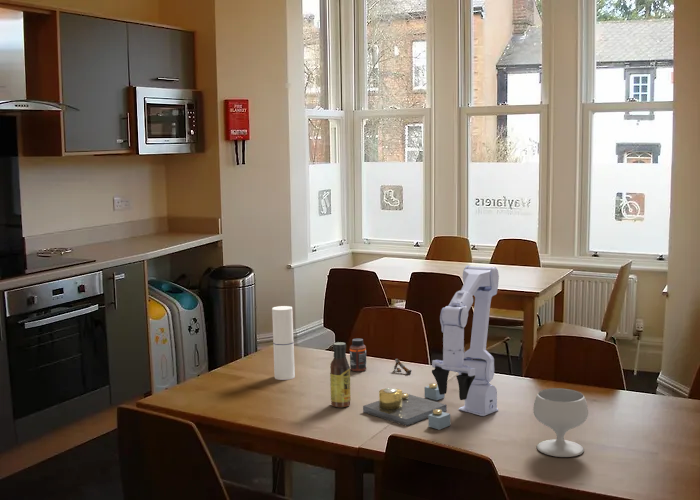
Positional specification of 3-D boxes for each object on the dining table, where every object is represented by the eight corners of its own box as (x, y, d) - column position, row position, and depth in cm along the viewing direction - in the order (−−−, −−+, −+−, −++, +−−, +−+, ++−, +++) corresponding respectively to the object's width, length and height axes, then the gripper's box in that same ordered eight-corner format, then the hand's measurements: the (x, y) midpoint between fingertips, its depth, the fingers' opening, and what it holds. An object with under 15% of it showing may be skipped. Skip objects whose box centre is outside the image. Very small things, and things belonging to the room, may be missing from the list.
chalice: (578, 439, 220) (578, 386, 218) (595, 458, 206) (596, 402, 204) (527, 441, 219) (527, 387, 217) (541, 460, 205) (541, 404, 203)
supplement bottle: (369, 368, 294) (369, 338, 293) (361, 372, 289) (360, 342, 288) (355, 366, 297) (355, 336, 296) (347, 370, 292) (346, 340, 291)
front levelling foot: (444, 397, 258) (444, 384, 257) (436, 400, 255) (436, 387, 255) (432, 394, 262) (432, 381, 261) (424, 397, 259) (424, 383, 258)
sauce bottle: (348, 409, 250) (347, 346, 247) (328, 408, 251) (327, 345, 248) (352, 402, 256) (351, 341, 253) (333, 401, 257) (331, 340, 255)
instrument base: (446, 411, 246) (446, 387, 245) (406, 425, 233) (406, 401, 232) (403, 398, 258) (402, 376, 258) (363, 412, 246) (362, 389, 245)
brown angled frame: (394, 366, 293) (397, 356, 291) (408, 379, 288) (411, 369, 286) (391, 367, 292) (394, 357, 290) (404, 380, 287) (408, 370, 285)
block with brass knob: (450, 425, 232) (450, 410, 232) (439, 429, 229) (439, 414, 228) (439, 422, 235) (439, 407, 235) (428, 426, 232) (428, 411, 231)
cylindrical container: (271, 379, 284) (268, 309, 281) (279, 373, 291) (276, 305, 288) (290, 380, 282) (288, 310, 279) (297, 374, 289) (295, 306, 285)
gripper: (424, 346, 228) (424, 393, 229) (463, 355, 217) (462, 404, 218) (441, 343, 233) (441, 389, 234) (480, 351, 222) (479, 399, 223)
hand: (452, 396), depth 226 cm, fingers open, 7 cm apart
